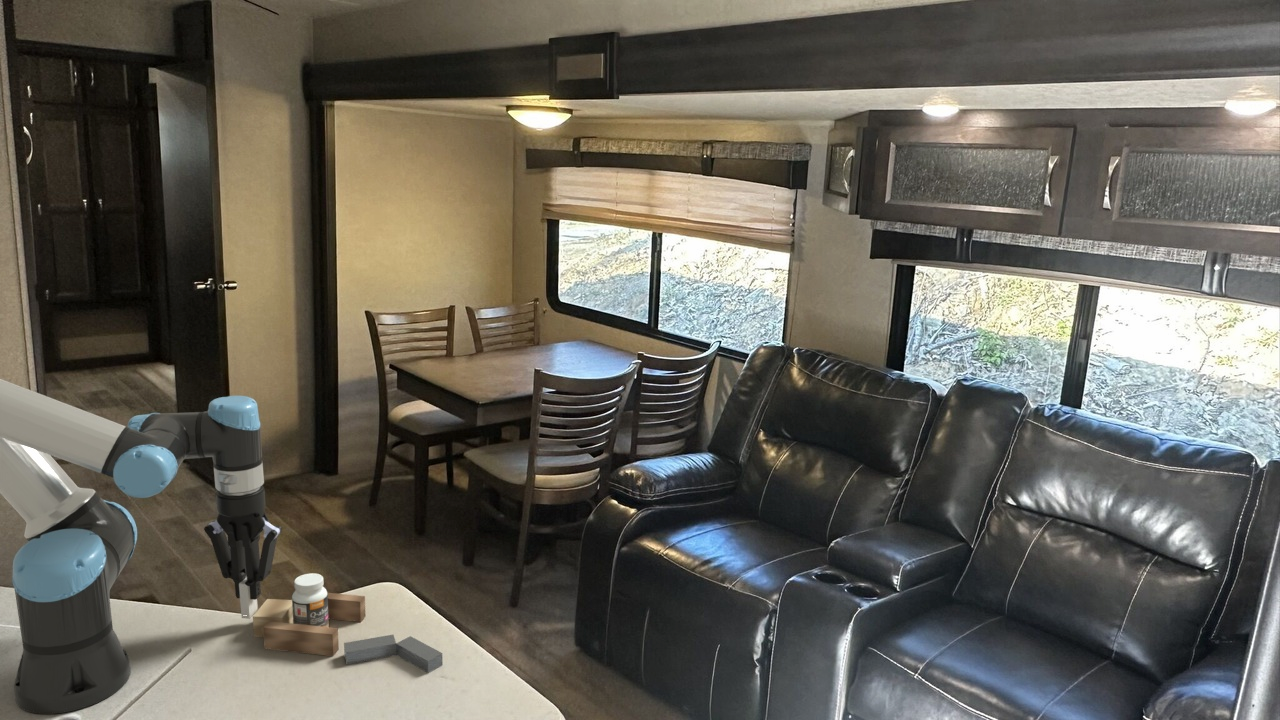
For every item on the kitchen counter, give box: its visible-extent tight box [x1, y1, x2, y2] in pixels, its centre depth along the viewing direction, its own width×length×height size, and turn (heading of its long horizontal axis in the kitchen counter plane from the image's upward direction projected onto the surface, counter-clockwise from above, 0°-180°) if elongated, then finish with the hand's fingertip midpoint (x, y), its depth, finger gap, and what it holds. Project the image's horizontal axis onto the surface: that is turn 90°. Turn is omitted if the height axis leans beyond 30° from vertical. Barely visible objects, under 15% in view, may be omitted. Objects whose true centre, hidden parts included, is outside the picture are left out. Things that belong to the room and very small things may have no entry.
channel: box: [263, 592, 366, 657], centre depth 156 cm, size 12×13×4 cm
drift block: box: [252, 598, 293, 638], centre depth 157 cm, size 5×6×4 cm
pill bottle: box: [291, 572, 330, 627], centre depth 156 cm, size 6×6×10 cm
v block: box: [343, 634, 444, 674], centre depth 150 cm, size 17×7×2 cm, turn 83°
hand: (249, 614), depth 158 cm, fingers closed
